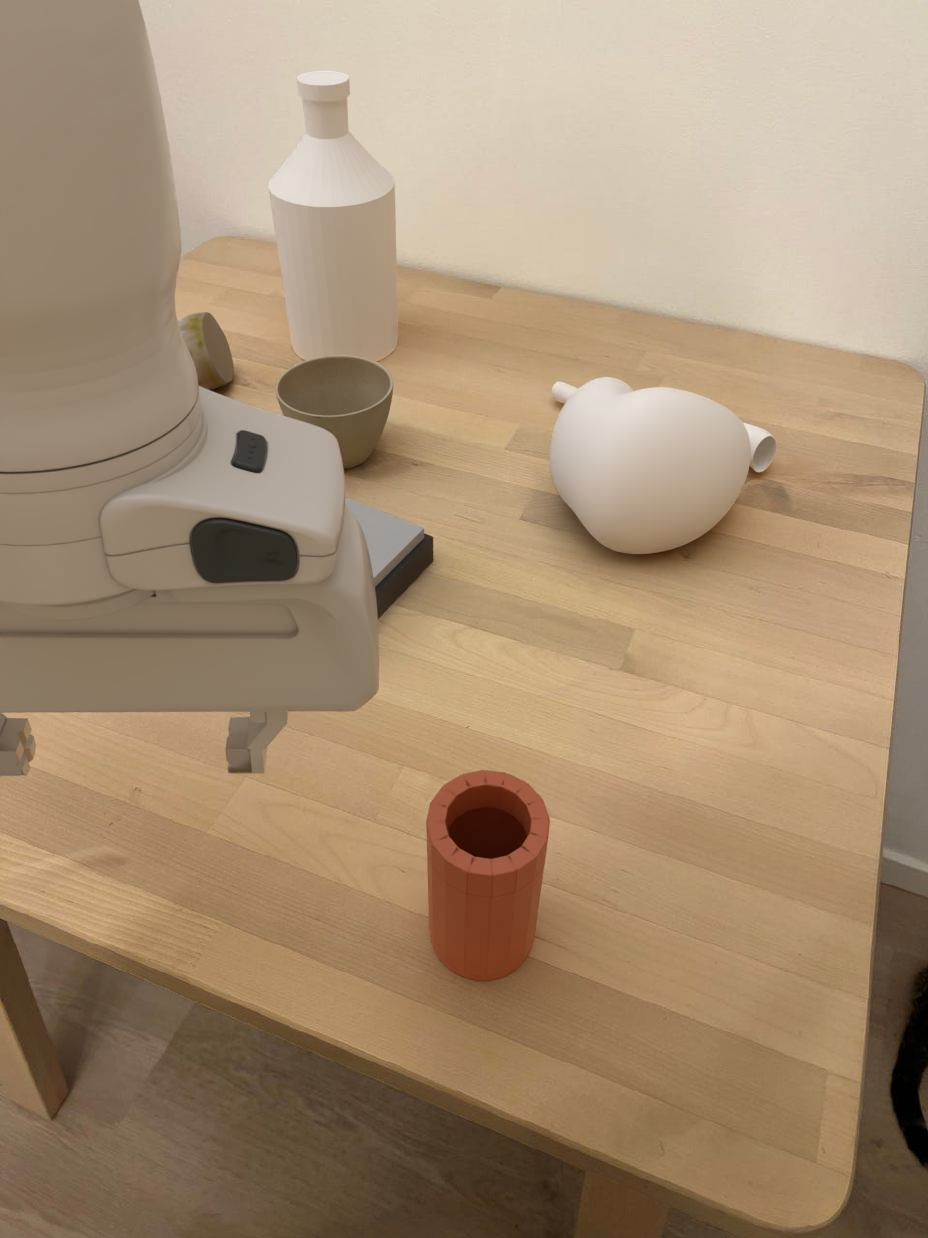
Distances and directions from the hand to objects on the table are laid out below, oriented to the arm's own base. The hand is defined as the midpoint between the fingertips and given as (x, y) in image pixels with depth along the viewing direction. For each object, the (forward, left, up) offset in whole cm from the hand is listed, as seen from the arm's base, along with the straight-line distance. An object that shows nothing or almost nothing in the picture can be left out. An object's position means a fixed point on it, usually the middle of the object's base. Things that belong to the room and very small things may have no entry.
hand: (132, 763), depth 39 cm
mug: (-42, +43, -18) cm, 63 cm away
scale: (-13, +27, -17) cm, 35 cm away
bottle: (-34, +59, -18) cm, 70 cm away
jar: (+12, +9, -17) cm, 23 cm away
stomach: (+2, +51, -18) cm, 54 cm away
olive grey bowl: (-22, +42, -18) cm, 51 cm away
